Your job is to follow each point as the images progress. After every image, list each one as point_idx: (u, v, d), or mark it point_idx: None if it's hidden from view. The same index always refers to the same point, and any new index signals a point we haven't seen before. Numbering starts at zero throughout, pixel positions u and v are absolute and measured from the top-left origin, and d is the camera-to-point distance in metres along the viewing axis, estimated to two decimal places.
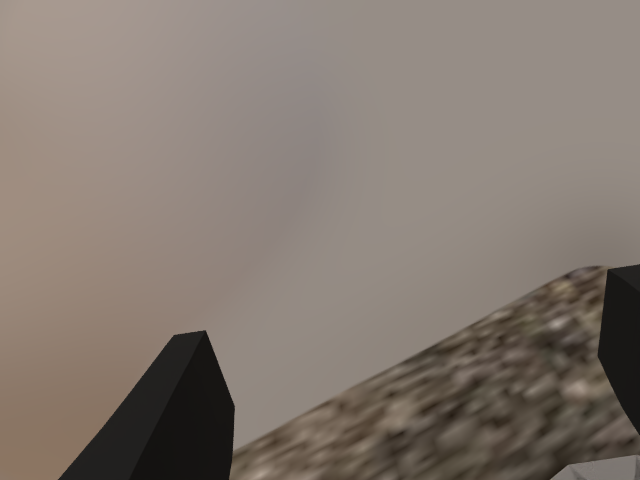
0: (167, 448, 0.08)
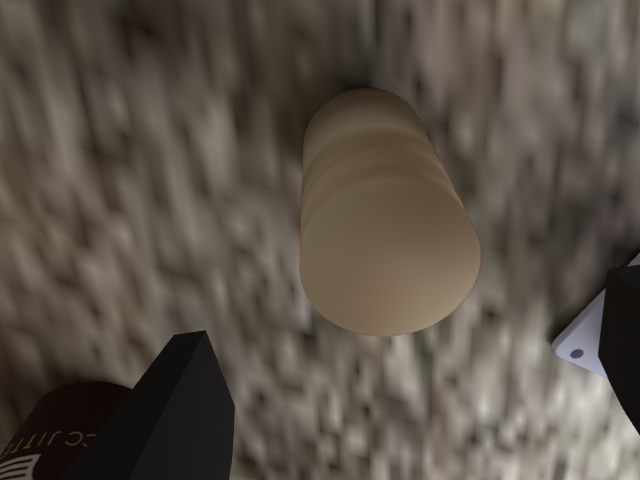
0: (167, 448, 0.08)
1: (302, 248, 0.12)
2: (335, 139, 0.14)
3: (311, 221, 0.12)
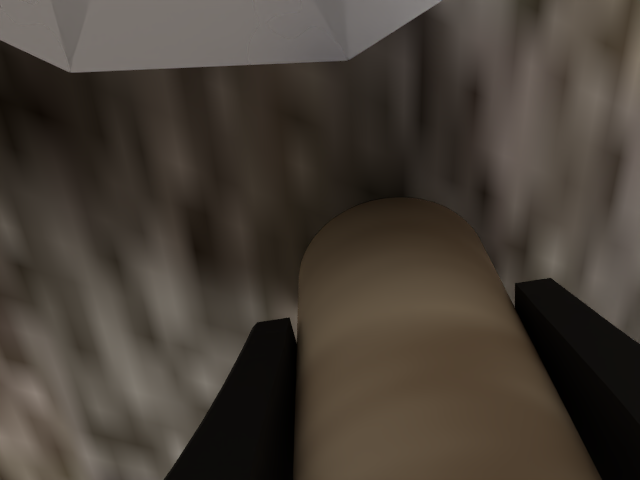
0: (274, 434, 0.08)
1: None
2: (355, 332, 0.08)
3: None
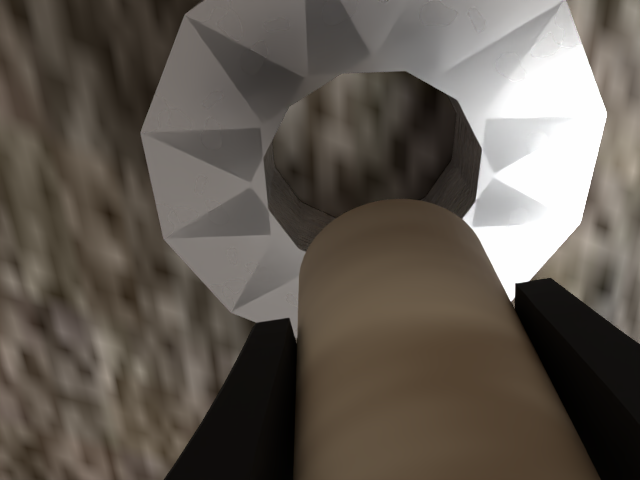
0: (274, 434, 0.08)
1: None
2: (355, 334, 0.08)
3: None
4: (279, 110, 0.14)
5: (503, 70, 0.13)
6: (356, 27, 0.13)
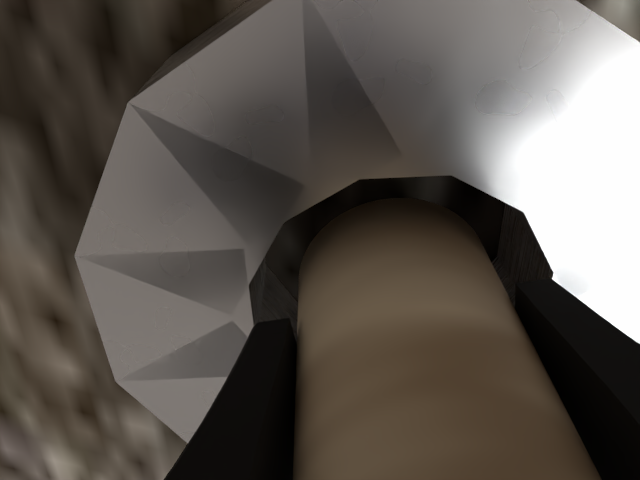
0: (273, 434, 0.08)
1: None
2: (355, 333, 0.08)
3: None
4: (270, 227, 0.10)
5: (592, 173, 0.09)
6: (382, 118, 0.09)
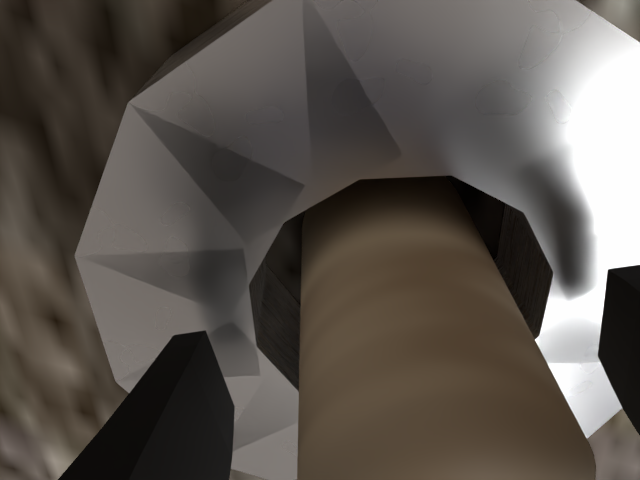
0: (167, 448, 0.08)
1: (301, 472, 0.07)
2: (350, 255, 0.09)
3: (316, 429, 0.07)
4: (270, 227, 0.10)
5: (592, 173, 0.09)
6: (382, 118, 0.09)
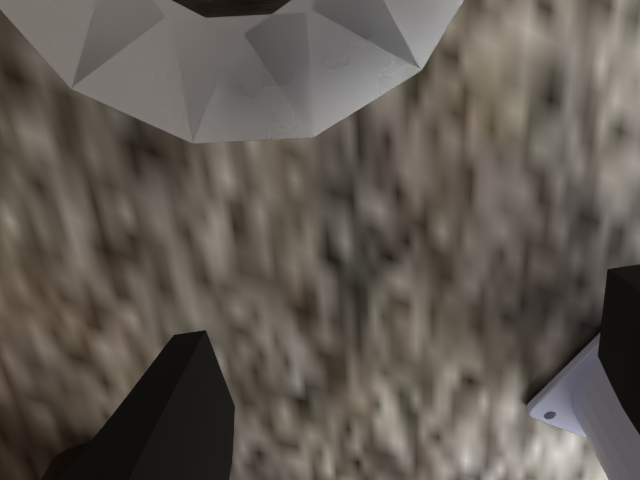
0: (167, 448, 0.08)
1: None
2: None
3: None
4: None
5: None
6: None
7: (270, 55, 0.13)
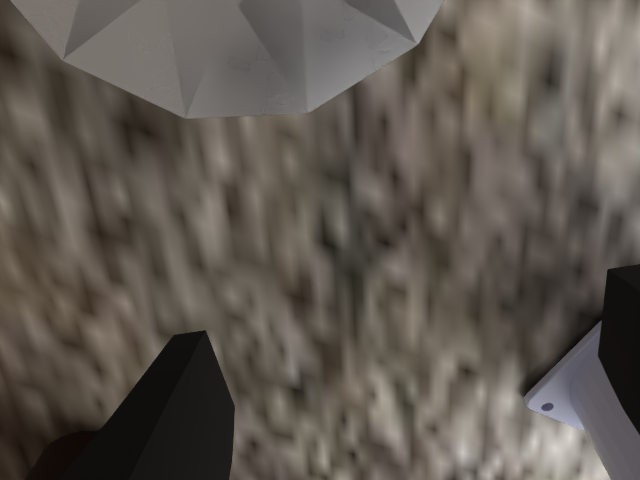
0: (167, 448, 0.08)
1: None
2: None
3: None
4: None
5: None
6: None
7: (265, 27, 0.13)
